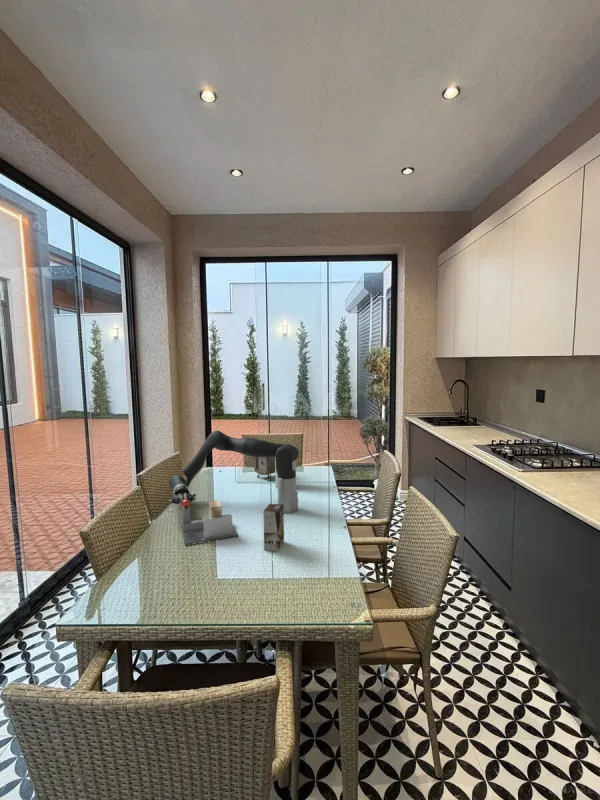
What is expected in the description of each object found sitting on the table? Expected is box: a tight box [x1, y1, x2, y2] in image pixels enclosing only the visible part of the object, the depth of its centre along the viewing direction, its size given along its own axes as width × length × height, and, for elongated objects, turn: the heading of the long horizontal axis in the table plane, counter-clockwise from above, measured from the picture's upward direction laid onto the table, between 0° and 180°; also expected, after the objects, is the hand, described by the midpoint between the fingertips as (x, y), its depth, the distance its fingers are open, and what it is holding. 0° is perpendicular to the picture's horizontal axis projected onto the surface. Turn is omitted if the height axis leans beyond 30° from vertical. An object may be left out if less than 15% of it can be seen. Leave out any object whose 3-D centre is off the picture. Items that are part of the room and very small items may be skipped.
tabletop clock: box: [253, 456, 275, 482], centre depth 256 cm, size 14×9×25 cm, turn 43°
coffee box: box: [263, 503, 285, 552], centre depth 159 cm, size 9×6×16 cm
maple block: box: [208, 499, 223, 517], centre depth 172 cm, size 4×8×12 cm, turn 21°
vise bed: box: [180, 513, 239, 546], centre depth 173 cm, size 22×20×9 cm
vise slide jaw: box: [181, 500, 203, 531], centre depth 176 cm, size 21×4×14 cm, turn 111°
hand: (184, 504), depth 181 cm, fingers closed
